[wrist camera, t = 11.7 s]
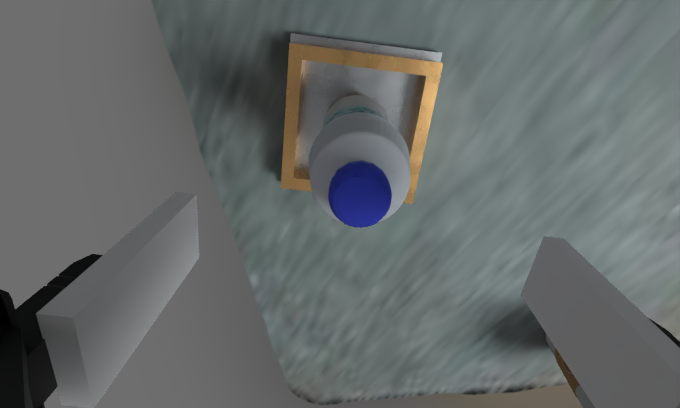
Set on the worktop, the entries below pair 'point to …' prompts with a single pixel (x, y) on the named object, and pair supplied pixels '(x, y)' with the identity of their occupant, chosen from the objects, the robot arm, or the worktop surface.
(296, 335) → the worktop surface
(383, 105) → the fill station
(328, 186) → the bottle
